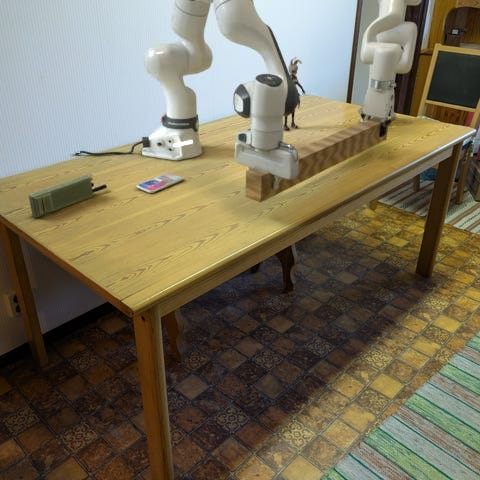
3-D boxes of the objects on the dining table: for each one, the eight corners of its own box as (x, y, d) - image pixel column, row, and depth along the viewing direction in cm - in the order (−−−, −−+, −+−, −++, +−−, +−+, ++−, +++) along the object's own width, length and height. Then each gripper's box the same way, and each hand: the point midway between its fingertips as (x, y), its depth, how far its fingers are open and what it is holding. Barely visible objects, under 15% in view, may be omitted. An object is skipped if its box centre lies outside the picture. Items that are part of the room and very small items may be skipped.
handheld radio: (30, 215, 144) (102, 188, 161) (37, 219, 142) (109, 191, 159) (26, 193, 140) (100, 168, 157) (33, 197, 138) (107, 171, 155)
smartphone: (184, 177, 167) (150, 191, 157) (184, 180, 167) (151, 194, 157) (168, 171, 171) (134, 185, 161) (168, 174, 171) (135, 188, 161)
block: (260, 202, 140) (261, 176, 136) (245, 196, 143) (245, 170, 139) (386, 139, 190) (389, 118, 186) (373, 136, 193) (376, 115, 189)
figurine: (282, 133, 213) (286, 58, 198) (272, 129, 216) (275, 56, 202) (305, 126, 221) (311, 54, 206) (295, 123, 225) (300, 52, 210)
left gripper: (305, 143, 133) (301, 191, 140) (245, 127, 144) (245, 172, 151) (291, 149, 129) (288, 199, 136) (231, 132, 140) (231, 179, 147)
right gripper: (409, 86, 175) (400, 137, 184) (364, 78, 185) (358, 127, 194) (399, 90, 170) (390, 142, 179) (354, 82, 180) (348, 131, 189)
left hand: (264, 185), depth 144 cm, fingers closed on block, 5 cm apart
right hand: (374, 133), depth 186 cm, fingers closed on block, 5 cm apart
